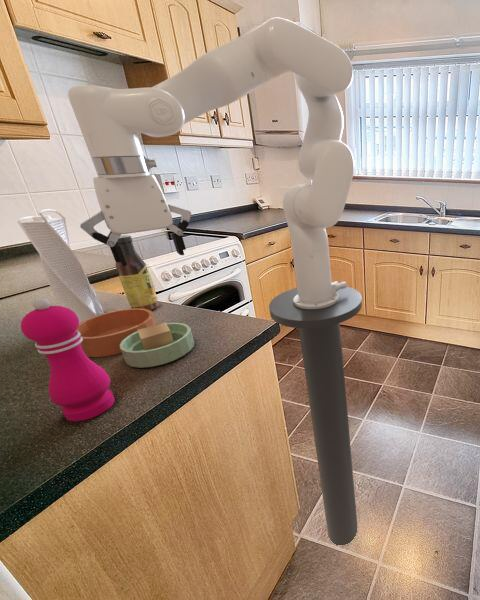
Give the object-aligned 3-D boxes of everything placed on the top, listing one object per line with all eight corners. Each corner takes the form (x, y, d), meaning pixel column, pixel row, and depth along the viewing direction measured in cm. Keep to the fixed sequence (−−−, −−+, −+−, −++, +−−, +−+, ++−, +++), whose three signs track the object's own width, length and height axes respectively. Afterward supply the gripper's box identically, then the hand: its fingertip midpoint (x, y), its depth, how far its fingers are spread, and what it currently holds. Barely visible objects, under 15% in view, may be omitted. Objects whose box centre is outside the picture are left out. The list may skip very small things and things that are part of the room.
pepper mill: (53, 415, 54) (-8, 303, 46) (104, 389, 60) (58, 286, 52) (75, 430, 52) (14, 313, 43) (127, 401, 57) (82, 293, 49)
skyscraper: (113, 321, 85) (69, 207, 74) (71, 333, 79) (16, 212, 68) (103, 312, 90) (59, 204, 78) (63, 323, 84) (9, 209, 72)
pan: (152, 319, 86) (147, 303, 84) (163, 340, 76) (157, 322, 74) (77, 338, 77) (69, 321, 75) (79, 365, 67) (70, 346, 65)
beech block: (171, 342, 74) (165, 322, 72) (176, 351, 71) (170, 330, 69) (144, 350, 71) (137, 329, 69) (148, 360, 68) (140, 339, 66)
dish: (187, 332, 79) (183, 317, 78) (201, 353, 71) (196, 337, 69) (123, 351, 72) (116, 335, 70) (130, 377, 64) (123, 359, 62)
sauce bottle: (161, 309, 91) (138, 236, 83) (133, 316, 88) (106, 241, 80) (157, 301, 96) (134, 232, 88) (130, 308, 92) (104, 236, 84)
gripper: (172, 164, 68) (196, 247, 75) (56, 170, 57) (97, 265, 65) (181, 165, 63) (206, 253, 70) (56, 171, 52) (100, 274, 60)
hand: (153, 259), depth 67 cm, fingers open, 9 cm apart
